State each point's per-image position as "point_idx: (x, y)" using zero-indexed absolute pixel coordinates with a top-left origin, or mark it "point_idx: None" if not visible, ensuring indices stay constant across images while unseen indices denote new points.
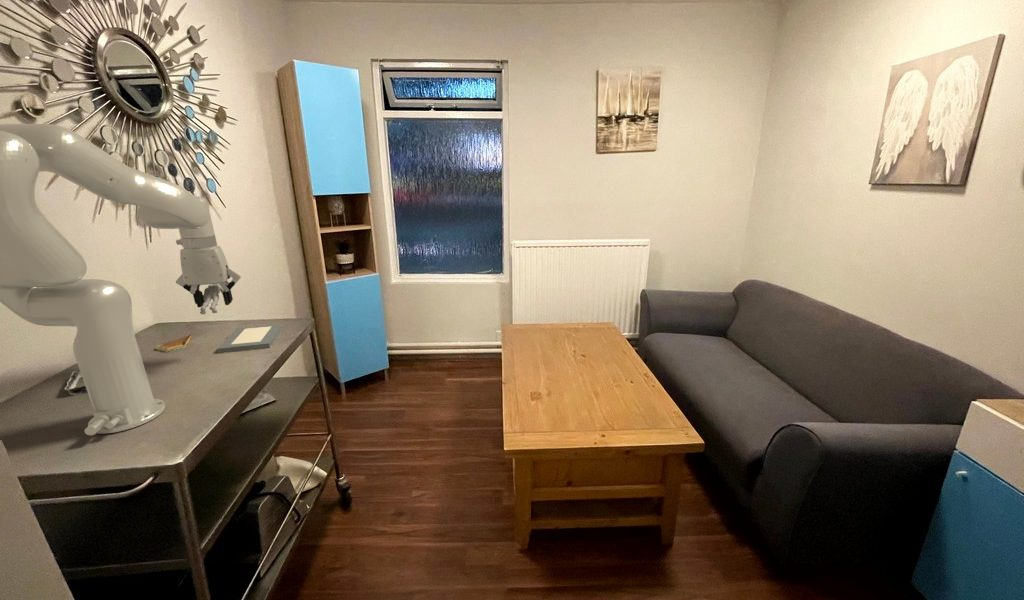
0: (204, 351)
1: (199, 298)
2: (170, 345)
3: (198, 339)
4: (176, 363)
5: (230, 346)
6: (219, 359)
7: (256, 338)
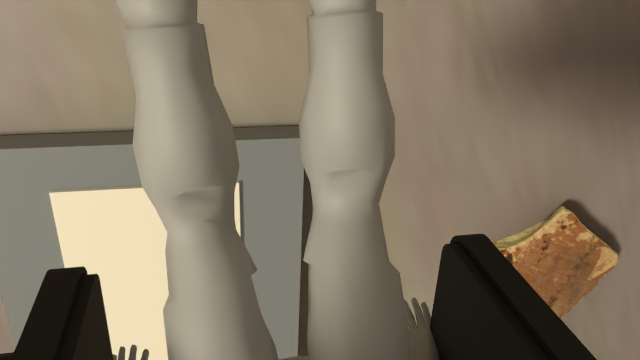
0: None
1: (504, 350)
2: (560, 250)
3: None
4: (489, 26)
5: None
6: (256, 14)
7: (101, 249)
